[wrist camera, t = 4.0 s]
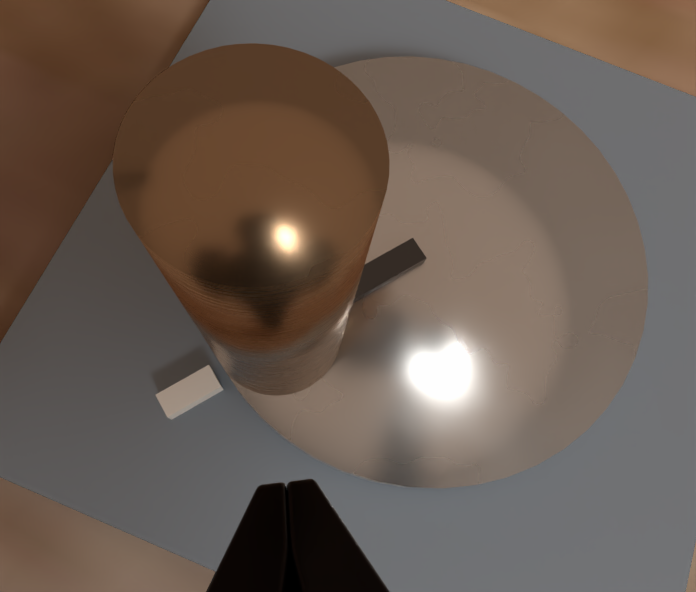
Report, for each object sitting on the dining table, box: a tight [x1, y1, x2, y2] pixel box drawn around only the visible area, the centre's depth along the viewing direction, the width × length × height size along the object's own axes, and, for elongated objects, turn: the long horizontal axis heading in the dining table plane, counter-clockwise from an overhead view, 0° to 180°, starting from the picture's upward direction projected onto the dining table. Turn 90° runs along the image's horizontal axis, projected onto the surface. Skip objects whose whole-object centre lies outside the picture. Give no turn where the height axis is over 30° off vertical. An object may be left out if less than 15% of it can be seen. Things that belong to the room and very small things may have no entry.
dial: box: [113, 43, 648, 488], centre depth 13 cm, size 13×13×10 cm
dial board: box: [0, 0, 696, 592], centre depth 19 cm, size 20×20×2 cm
